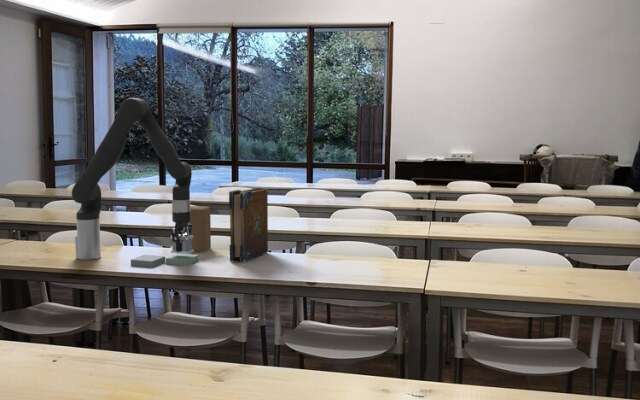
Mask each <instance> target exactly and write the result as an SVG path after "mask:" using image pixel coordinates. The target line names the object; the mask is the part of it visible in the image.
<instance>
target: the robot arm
mask: <svg viewBox="0 0 640 400" xmlns="http://www.w3.org/2000/svg"><path fill="white" fill-rule="evenodd" d="M136 122H138V124H139V125H140V126H142V128H143V130H144V131H145V132H146V134H147V136H148V138H149V142H150V144H151V146H152V148H153V150H154V151H155V153H156V154H157V155H158V157H159V158H160V160H162V163H163V164H164V167H165V169H166V171H167V172H168V174H169V175H170V177H171V178H172V179H174V180H175V182H174V185H173V186H172V201H171V202H172V203H171V210H172V211H171V213H172V215H171V217H172V218H171V219H172V222H173V223H174V228H171V229H170V232H171V233H170V234H171V236H172V239H171V241H173V242H175V243H176V251H177V252H181V251H182V245H181V241H182V237H183V235H191V231H192V224H188V222H190V221H191V206H192V205H191V199H190V197H191V195H190V193H191V191H190V188H191V182H192V175H193V171H192V167H191V166H190V164H189V163H188V162H184V161H181V160H180V158H179V157H178V152H177V150H176V148H175V147H174V145H173V144H172V143H171V141H170V140H169V138H168V137H167V135H165V133H164V132H163V130H162V128H161V126H160V125H159V123H158V122H157V120H156V118H155V116H154V114H153V112H152V110H151V108H150V106H149V104H148V103H147V102H146V101H145V99H142V98H140V97H139V98H138V97H129V98H126V99H124V100H123V102H122V103H121V105H120V106H119V109H118V111H117V114H116V116H115V117H114V120H113V122H112V124H111V126H110V128H109V129H108V131H107V132H106V133H105V135H104V137H103V139H102V140H101V142H100V144H99V146H98V147H97V149H96V151H95V153H94V155H93V156H92V158H91V159H90V161H89V163H88V165H87V167H86V169H85V170H84V172H83V173H82V174H81V176H79V179H78V180H77V181H76V182H75V184H74V185H73V188H72V190H71V197H72V200H73V201H74V202H76V203H77V204H80V208H79V209H78V210H77V212H76V214H75V215H76V216H75V217H76V236H75V237H74V239H75V241H74V242H75V259H78V260H80V261H81V260H82V261H83V260H84V261H85V260H87V261H90V260H97V259H100V258H101V257H102V254H101V253H102V251H101V227H100V226H101V225H100V223H101V221H100V216H101V215H100V214H101V212H102V190H101V187H100V185H99V181H100V180H101V179H102V178H103V176H105V175H106V174H107V173H108V172H110V170H112V168H113V167H114V166H115V165H116V163H117V162H118V161H119V159H120V158H121V155H122V154H123V152H124V149H125V146H126V141H127V135H128V133H129V132H130V130H131V129H132V126H133V125H134V123H136ZM179 237H180V238H179Z"/></svg>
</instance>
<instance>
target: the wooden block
mask: <svg viewBox="0 0 640 400" xmlns="http://www.w3.org/2000/svg"><path fill="white" fill-rule="evenodd" d="M211 222H212V221H211V207H210V206H203V205H202V206H201V205H191V221H190V222H188V224H192V231H191V235H194V238H192V249H194V252H195V253H204V252H206V251H208V250H210V249H211V247H212V246H211V245H212V244H211V243H212V241H211V240H212V239H211V238H212V236H211V235H212V234H211V233H212V232H211V230H212V229H211V224H212V223H211ZM194 252H193V253H194Z"/></svg>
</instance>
